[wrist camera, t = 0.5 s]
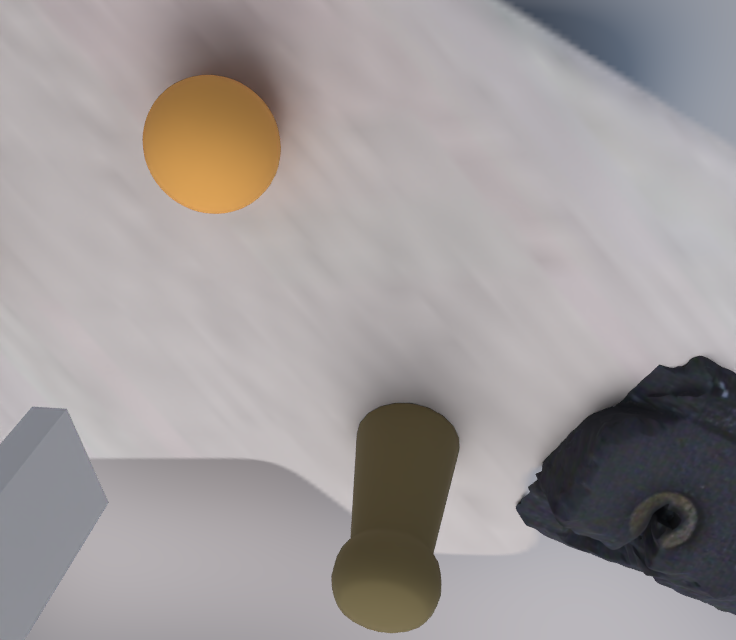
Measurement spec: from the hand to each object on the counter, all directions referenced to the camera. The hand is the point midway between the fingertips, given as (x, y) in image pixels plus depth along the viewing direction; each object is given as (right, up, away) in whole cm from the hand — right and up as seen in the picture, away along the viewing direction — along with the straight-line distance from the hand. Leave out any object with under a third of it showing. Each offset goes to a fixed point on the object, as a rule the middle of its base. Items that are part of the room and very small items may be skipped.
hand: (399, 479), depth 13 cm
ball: (-7, +10, +15) cm, 19 cm away
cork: (+2, -4, +27) cm, 27 cm away
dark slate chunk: (+20, -7, +27) cm, 34 cm away
